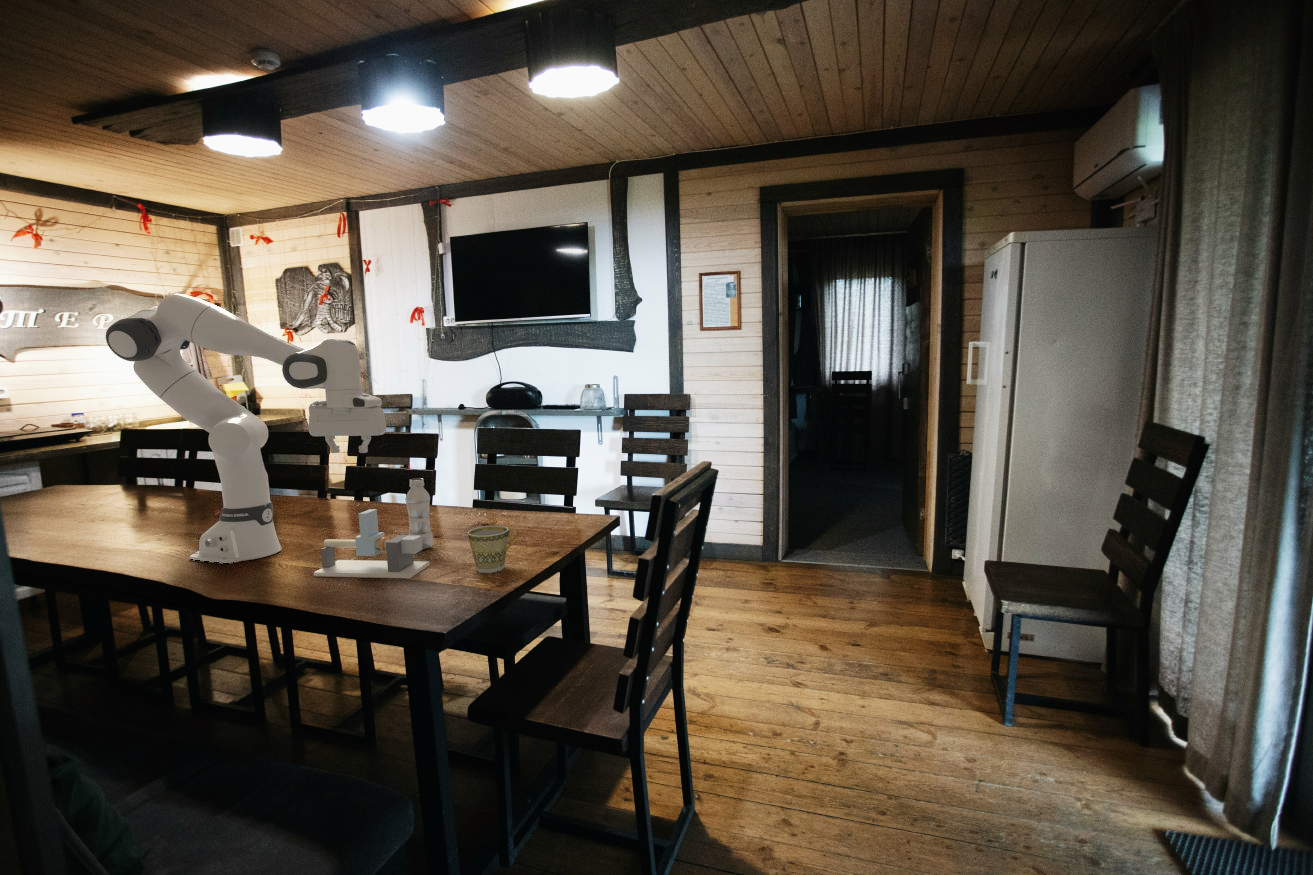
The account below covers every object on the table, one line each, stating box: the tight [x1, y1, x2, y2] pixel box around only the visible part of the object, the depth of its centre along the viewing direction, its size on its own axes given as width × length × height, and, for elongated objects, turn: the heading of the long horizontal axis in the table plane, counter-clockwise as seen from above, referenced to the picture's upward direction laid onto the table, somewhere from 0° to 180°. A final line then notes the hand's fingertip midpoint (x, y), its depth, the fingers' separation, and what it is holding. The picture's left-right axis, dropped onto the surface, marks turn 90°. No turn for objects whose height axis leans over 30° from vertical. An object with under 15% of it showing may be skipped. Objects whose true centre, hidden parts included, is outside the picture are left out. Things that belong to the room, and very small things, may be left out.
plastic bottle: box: [405, 477, 434, 551], centre depth 180 cm, size 6×7×20 cm
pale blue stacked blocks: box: [354, 508, 385, 557], centre depth 162 cm, size 5×5×11 cm
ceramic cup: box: [467, 525, 520, 574], centre depth 162 cm, size 13×10×10 cm
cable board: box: [313, 534, 430, 579], centre depth 163 cm, size 26×10×9 cm, turn 82°
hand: (349, 452), depth 170 cm, fingers open, 7 cm apart
